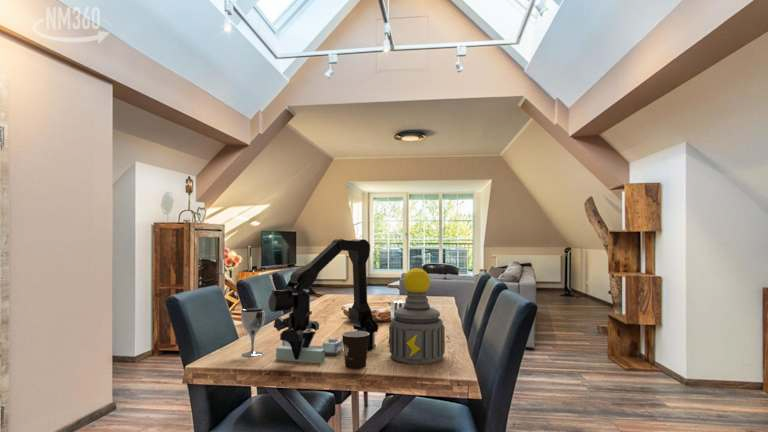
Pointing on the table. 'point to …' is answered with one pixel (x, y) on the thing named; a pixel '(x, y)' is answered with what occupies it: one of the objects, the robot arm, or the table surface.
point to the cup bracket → (326, 346)
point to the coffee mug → (355, 349)
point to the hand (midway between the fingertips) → (300, 356)
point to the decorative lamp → (417, 325)
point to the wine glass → (252, 326)
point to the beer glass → (396, 306)
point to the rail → (301, 354)
